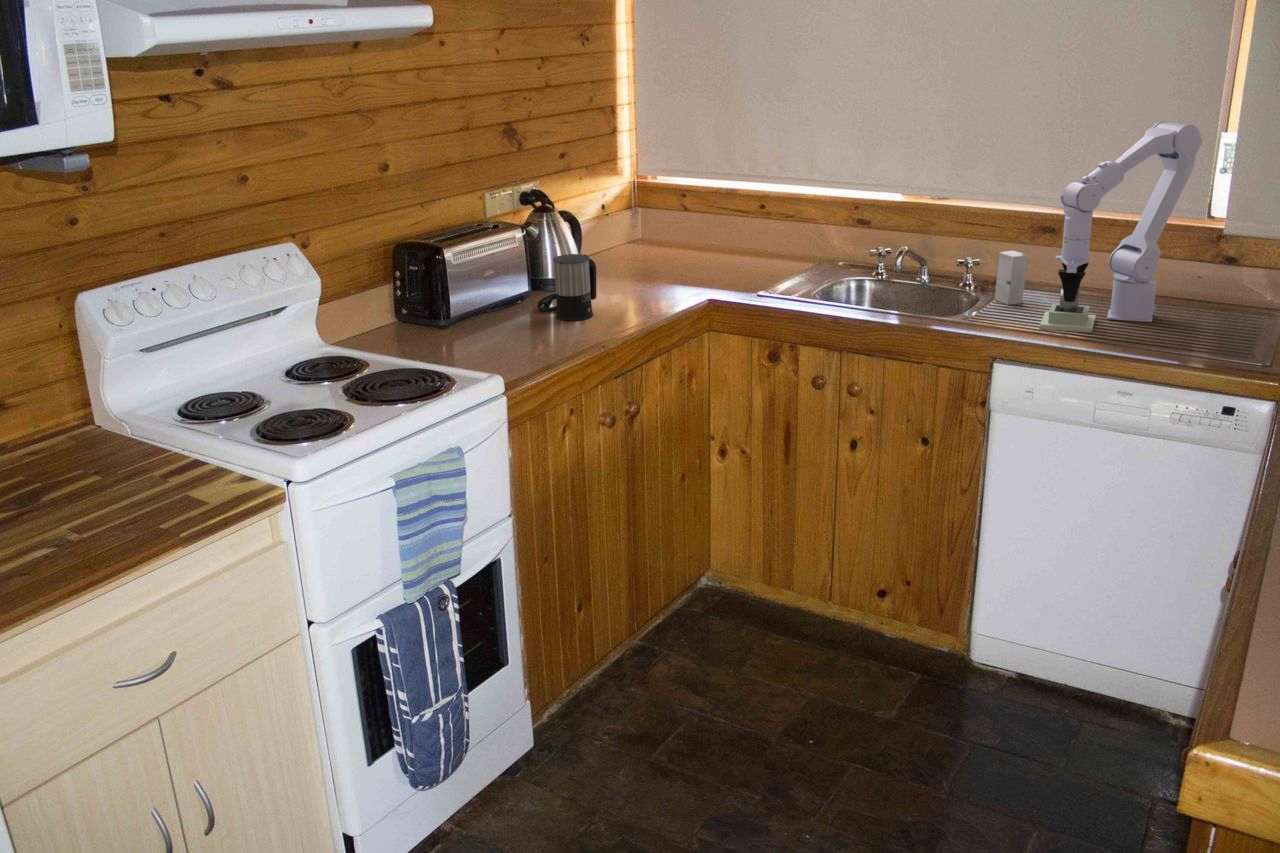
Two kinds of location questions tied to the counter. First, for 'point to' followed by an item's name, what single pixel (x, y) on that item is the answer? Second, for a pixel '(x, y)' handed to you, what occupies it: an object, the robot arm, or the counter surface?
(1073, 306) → the peg
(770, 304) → the counter surface
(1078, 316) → the socket stand
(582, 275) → the milk frother
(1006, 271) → the skincare box
